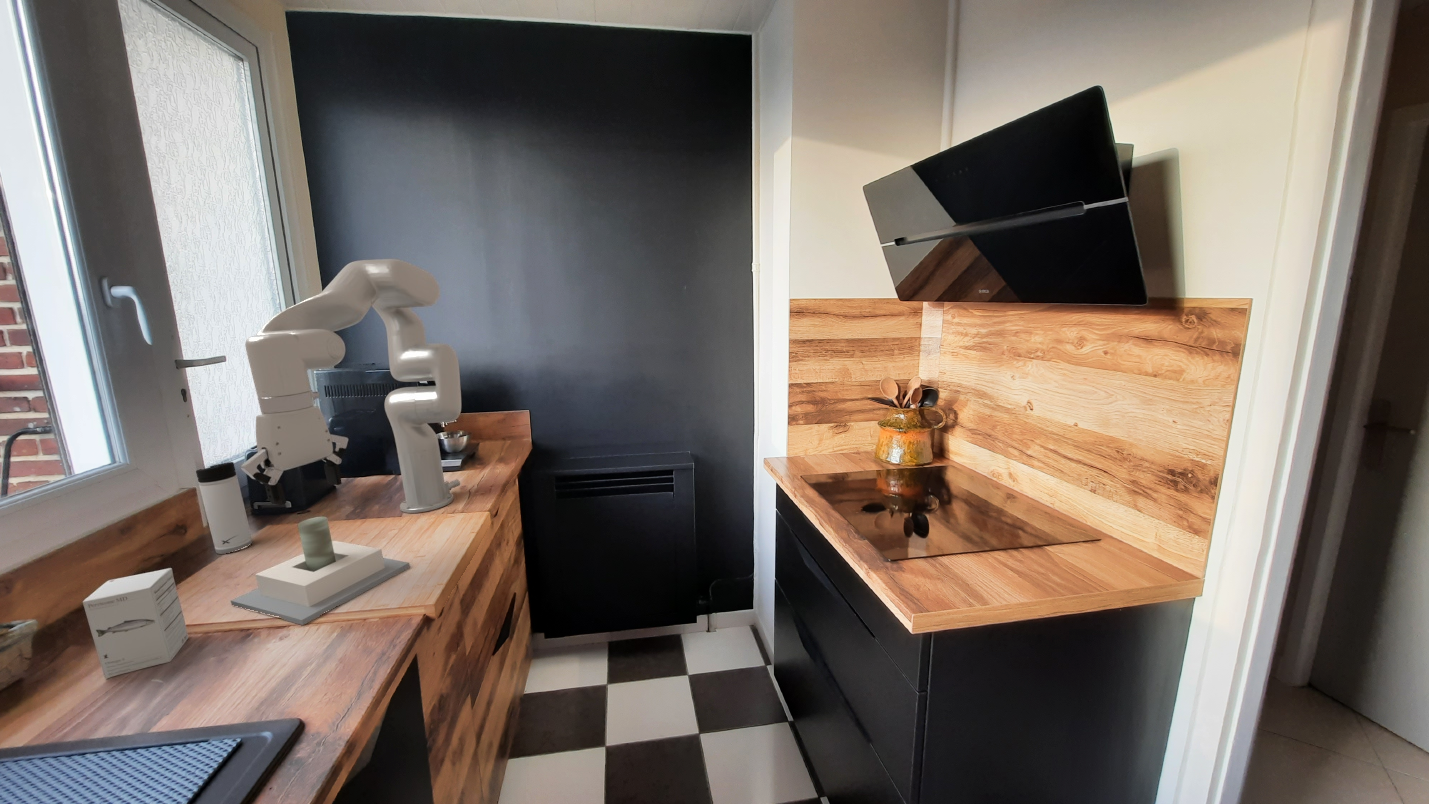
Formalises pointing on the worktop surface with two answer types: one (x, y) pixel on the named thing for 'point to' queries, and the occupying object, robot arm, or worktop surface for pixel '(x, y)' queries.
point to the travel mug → (224, 507)
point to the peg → (316, 543)
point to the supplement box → (136, 622)
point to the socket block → (318, 583)
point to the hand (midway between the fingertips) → (308, 493)
